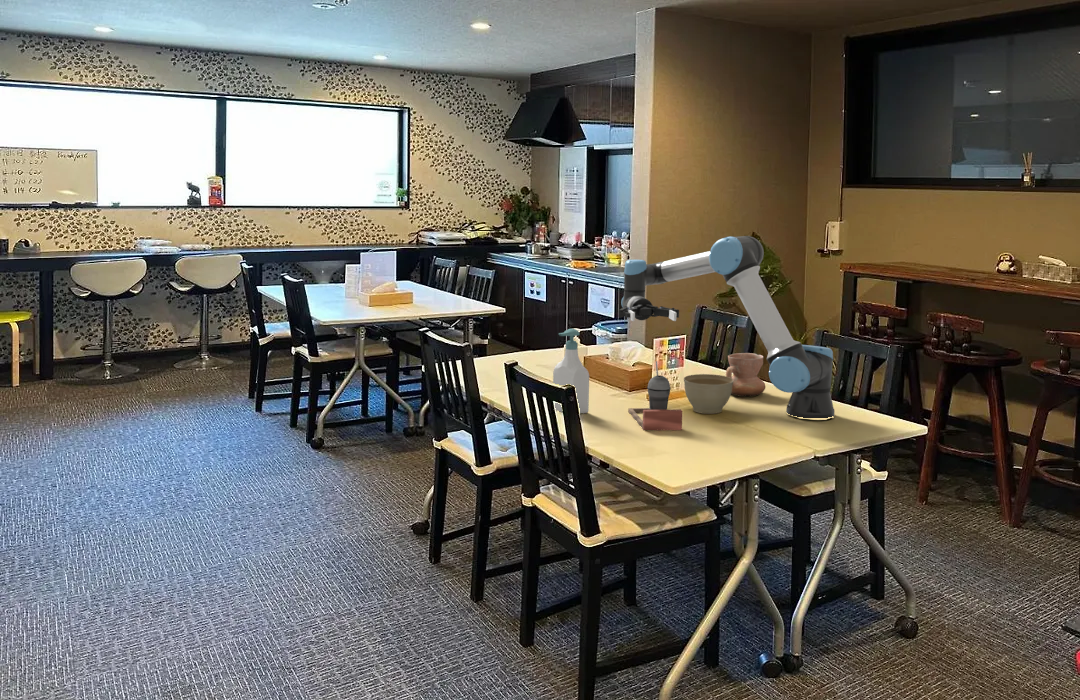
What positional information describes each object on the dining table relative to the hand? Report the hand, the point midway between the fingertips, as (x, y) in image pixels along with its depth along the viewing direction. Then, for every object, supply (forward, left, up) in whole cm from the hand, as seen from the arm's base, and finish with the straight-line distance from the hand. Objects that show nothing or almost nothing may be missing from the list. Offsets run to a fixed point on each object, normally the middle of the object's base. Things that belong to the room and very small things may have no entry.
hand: (654, 317), depth 292 cm
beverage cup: (-11, +7, -32) cm, 35 cm away
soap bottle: (+18, +20, -32) cm, 42 cm away
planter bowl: (-7, -19, -32) cm, 38 cm away
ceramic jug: (+3, -48, -32) cm, 58 cm away
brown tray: (-6, +5, -32) cm, 33 cm away
